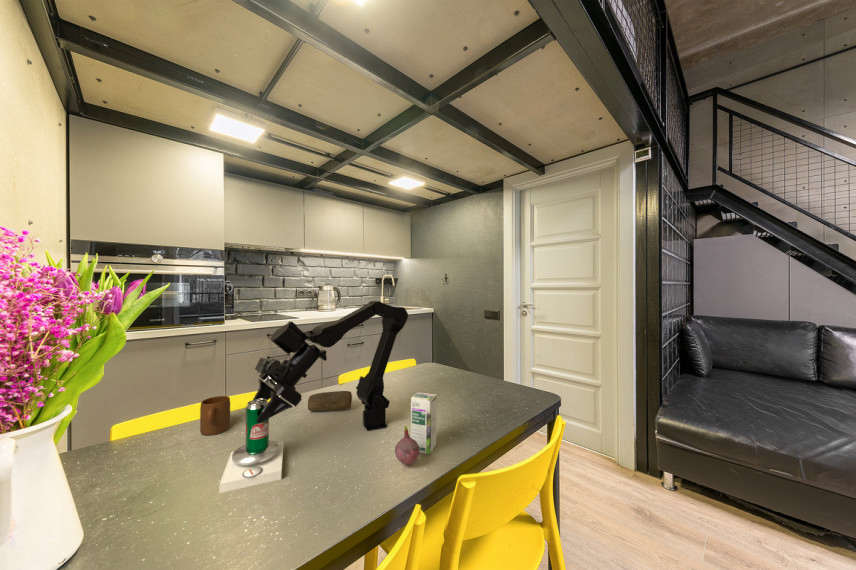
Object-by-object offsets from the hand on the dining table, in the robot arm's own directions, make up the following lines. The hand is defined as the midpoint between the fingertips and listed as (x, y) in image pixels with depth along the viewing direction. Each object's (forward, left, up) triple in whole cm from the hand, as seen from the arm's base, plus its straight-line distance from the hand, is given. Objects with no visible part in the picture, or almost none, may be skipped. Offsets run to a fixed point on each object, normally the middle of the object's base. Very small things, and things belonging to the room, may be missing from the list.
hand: (253, 416), depth 75 cm
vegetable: (-35, +15, -13) cm, 40 cm away
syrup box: (-42, +9, -13) cm, 45 cm away
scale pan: (-1, 0, -11) cm, 11 cm away
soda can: (-1, 0, -9) cm, 9 cm away
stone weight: (-21, -29, -13) cm, 38 cm away
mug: (+13, -24, -13) cm, 30 cm away
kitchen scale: (-1, +1, -12) cm, 13 cm away
